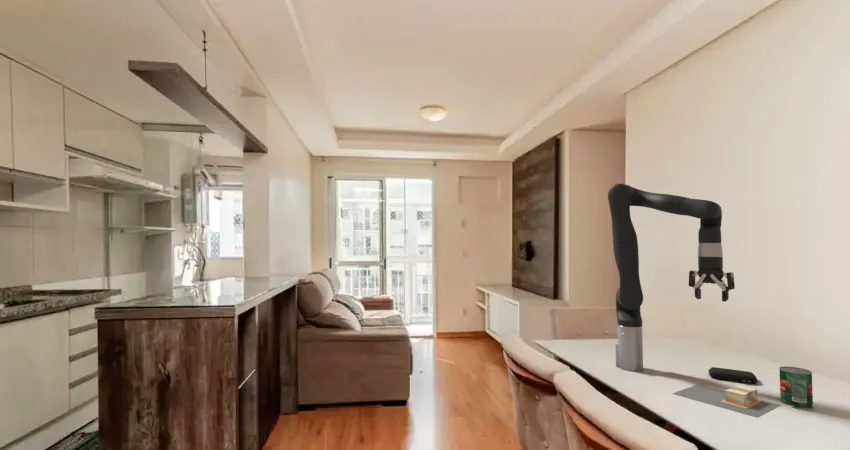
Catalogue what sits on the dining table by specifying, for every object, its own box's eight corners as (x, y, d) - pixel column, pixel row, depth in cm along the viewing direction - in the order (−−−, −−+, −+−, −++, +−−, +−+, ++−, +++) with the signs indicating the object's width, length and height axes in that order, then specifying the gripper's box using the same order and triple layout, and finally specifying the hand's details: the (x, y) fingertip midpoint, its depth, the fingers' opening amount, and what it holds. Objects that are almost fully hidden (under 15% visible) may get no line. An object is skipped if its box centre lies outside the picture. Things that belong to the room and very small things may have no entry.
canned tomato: (773, 400, 140) (772, 366, 141) (798, 400, 140) (797, 366, 141) (793, 409, 132) (792, 373, 133) (820, 410, 132) (819, 373, 133)
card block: (739, 395, 142) (738, 384, 142) (757, 400, 138) (757, 389, 138) (725, 401, 137) (725, 390, 137) (744, 406, 133) (743, 395, 133)
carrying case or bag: (709, 380, 162) (758, 387, 154) (709, 372, 162) (758, 378, 154) (708, 373, 171) (755, 379, 163) (708, 365, 171) (755, 371, 163)
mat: (671, 395, 145) (671, 393, 145) (698, 385, 155) (698, 383, 155) (757, 419, 125) (757, 416, 125) (781, 407, 135) (781, 404, 135)
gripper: (737, 255, 155) (738, 301, 154) (694, 255, 167) (695, 297, 166) (727, 256, 151) (728, 303, 150) (684, 255, 163) (685, 298, 162)
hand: (711, 300), depth 158 cm, fingers open, 8 cm apart
